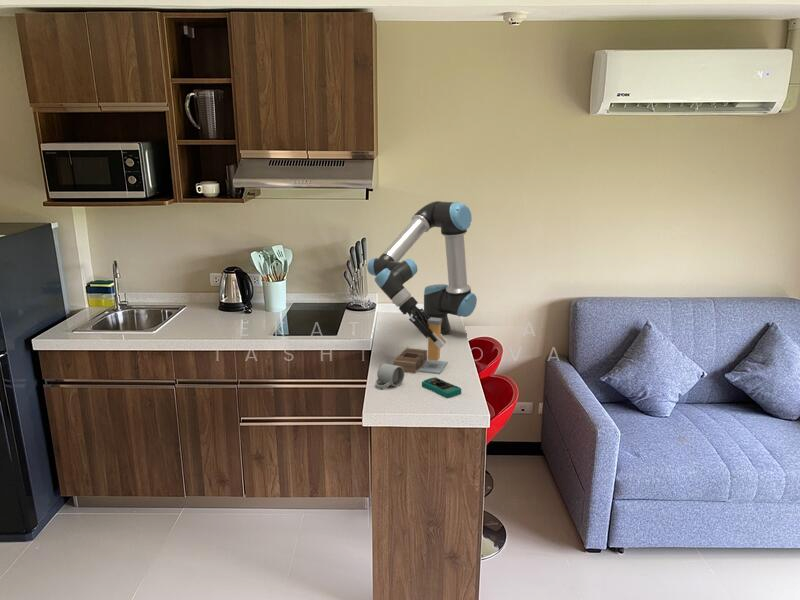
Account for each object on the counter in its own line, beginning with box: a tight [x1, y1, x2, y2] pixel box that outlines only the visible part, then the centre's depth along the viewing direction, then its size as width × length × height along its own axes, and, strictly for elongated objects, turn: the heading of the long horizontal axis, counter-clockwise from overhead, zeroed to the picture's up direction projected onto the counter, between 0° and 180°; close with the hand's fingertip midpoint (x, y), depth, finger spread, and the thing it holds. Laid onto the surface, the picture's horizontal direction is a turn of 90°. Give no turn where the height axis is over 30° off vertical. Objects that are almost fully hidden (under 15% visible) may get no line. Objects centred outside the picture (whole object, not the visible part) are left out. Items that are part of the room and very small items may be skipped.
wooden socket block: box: [393, 347, 428, 374], centre depth 248 cm, size 18×9×4 cm, turn 163°
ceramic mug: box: [374, 363, 405, 390], centre depth 225 cm, size 11×8×8 cm
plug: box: [427, 317, 442, 361], centre depth 242 cm, size 5×5×17 cm
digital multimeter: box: [421, 376, 462, 399], centre depth 222 cm, size 7×15×3 cm, turn 39°
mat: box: [419, 359, 449, 375], centre depth 245 cm, size 14×8×1 cm, turn 162°
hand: (443, 345), depth 241 cm, fingers closed on plug, 4 cm apart
